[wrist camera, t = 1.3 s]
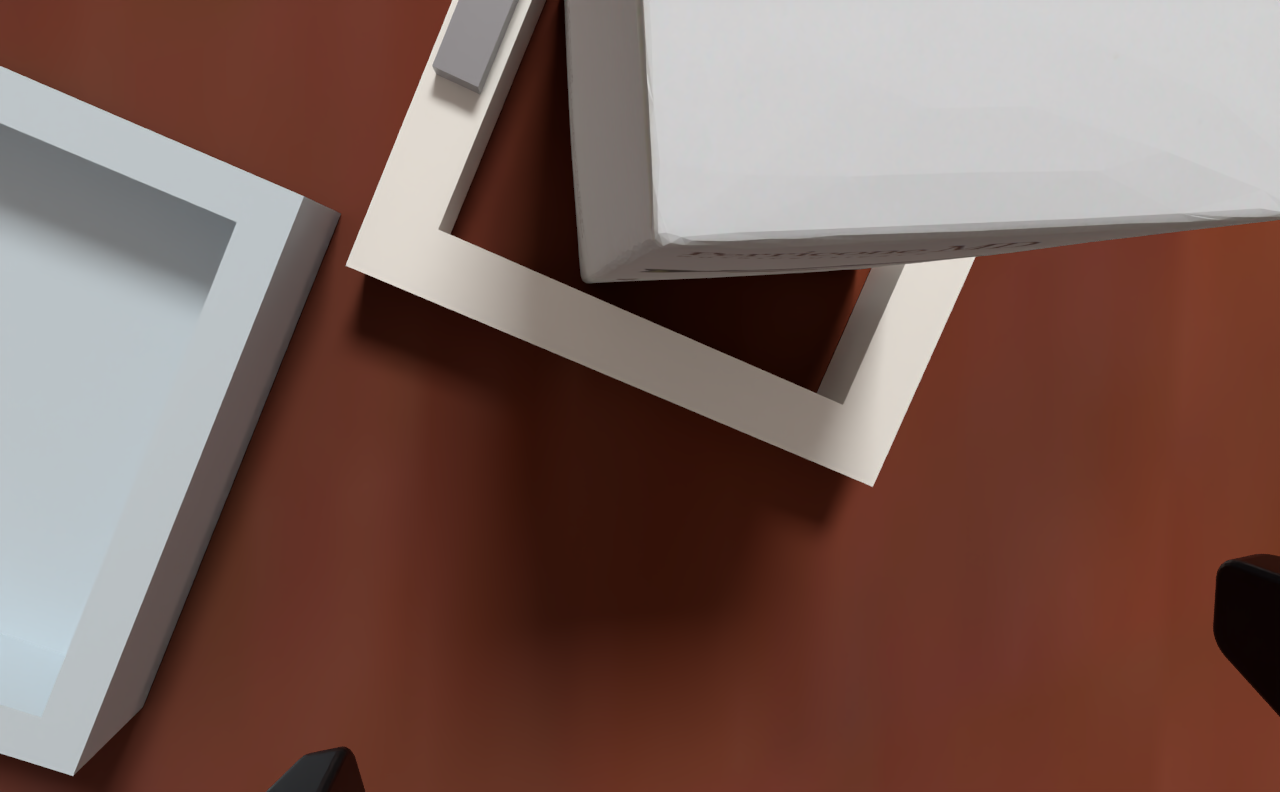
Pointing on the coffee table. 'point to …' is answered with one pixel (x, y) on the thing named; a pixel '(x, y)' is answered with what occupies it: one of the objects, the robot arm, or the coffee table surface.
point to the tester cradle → (600, 332)
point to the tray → (122, 396)
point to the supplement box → (910, 129)
